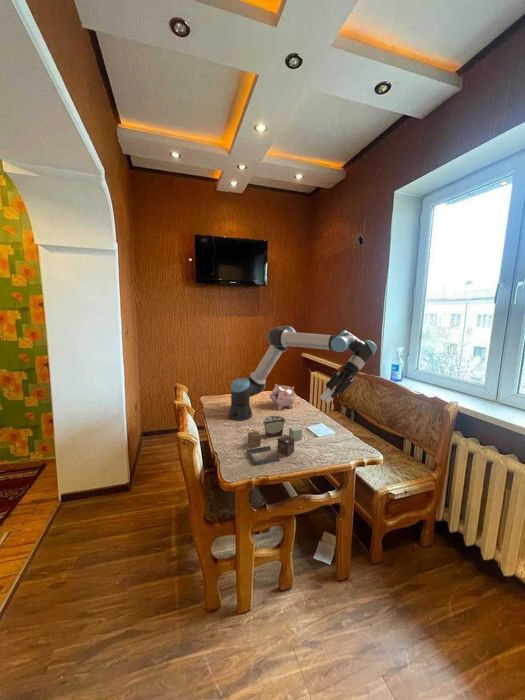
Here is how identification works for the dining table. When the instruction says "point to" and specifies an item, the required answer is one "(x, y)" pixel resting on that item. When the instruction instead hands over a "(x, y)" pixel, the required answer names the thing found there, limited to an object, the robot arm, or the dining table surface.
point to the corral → (263, 461)
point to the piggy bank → (283, 396)
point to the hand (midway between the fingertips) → (324, 400)
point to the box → (285, 445)
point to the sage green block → (295, 433)
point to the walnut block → (254, 439)
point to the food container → (273, 426)
